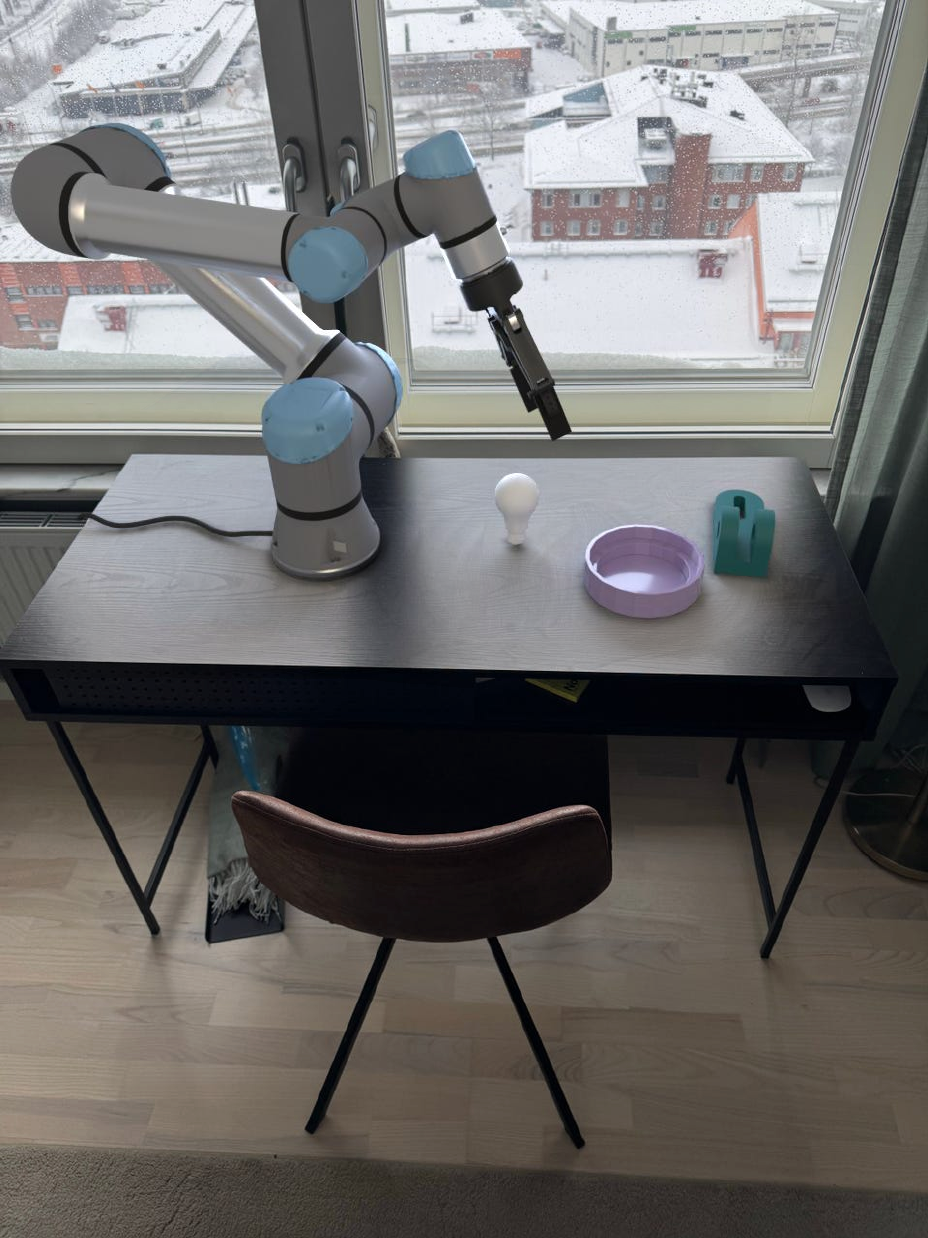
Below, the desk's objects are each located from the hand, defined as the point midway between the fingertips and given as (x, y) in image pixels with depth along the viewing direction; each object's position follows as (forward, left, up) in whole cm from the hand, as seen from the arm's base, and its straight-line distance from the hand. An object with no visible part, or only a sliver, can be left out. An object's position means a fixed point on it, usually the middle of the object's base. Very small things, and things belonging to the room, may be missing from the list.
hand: (548, 421), depth 124 cm
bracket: (+26, +9, -17) cm, 32 cm away
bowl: (+17, -7, -17) cm, 25 cm away
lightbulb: (-2, -5, -17) cm, 18 cm away
